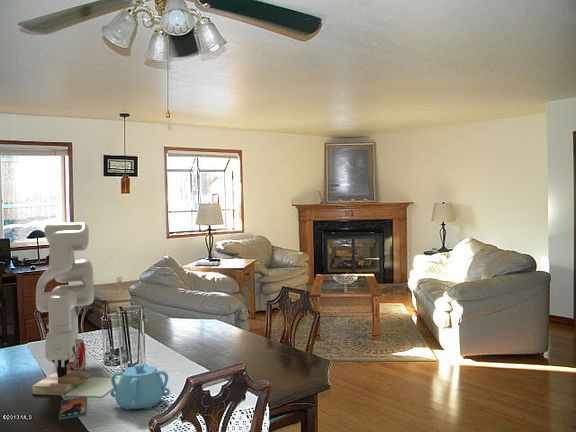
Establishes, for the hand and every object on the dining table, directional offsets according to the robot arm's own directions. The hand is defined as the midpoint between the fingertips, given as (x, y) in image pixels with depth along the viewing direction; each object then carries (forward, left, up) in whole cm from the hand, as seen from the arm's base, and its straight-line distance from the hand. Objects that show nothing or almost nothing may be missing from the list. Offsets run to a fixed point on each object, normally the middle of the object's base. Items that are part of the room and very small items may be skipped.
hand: (62, 376), depth 189 cm
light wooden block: (0, -1, -4) cm, 4 cm away
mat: (0, +13, -4) cm, 14 cm away
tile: (0, +5, -1) cm, 5 cm away
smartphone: (+18, +15, -4) cm, 24 cm away
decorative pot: (+12, +36, -4) cm, 38 cm away
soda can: (-17, -5, -4) cm, 18 cm away
